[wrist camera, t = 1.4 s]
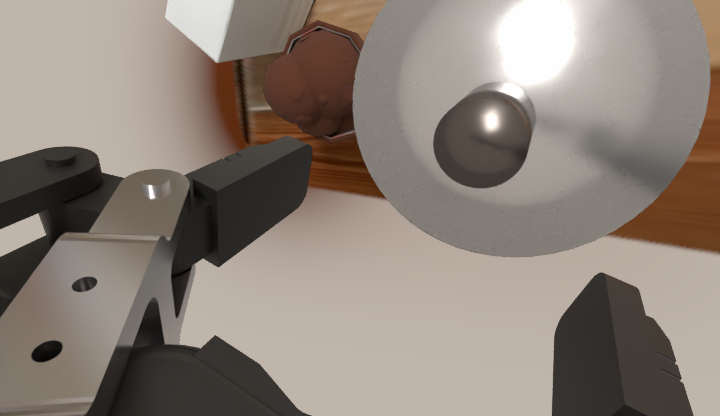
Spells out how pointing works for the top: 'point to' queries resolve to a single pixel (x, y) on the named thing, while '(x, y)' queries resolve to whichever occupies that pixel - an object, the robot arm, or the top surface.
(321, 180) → the top surface
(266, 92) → the ice cream bowl
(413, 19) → the cover
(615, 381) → the robot arm
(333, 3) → the top surface
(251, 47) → the supplement box
